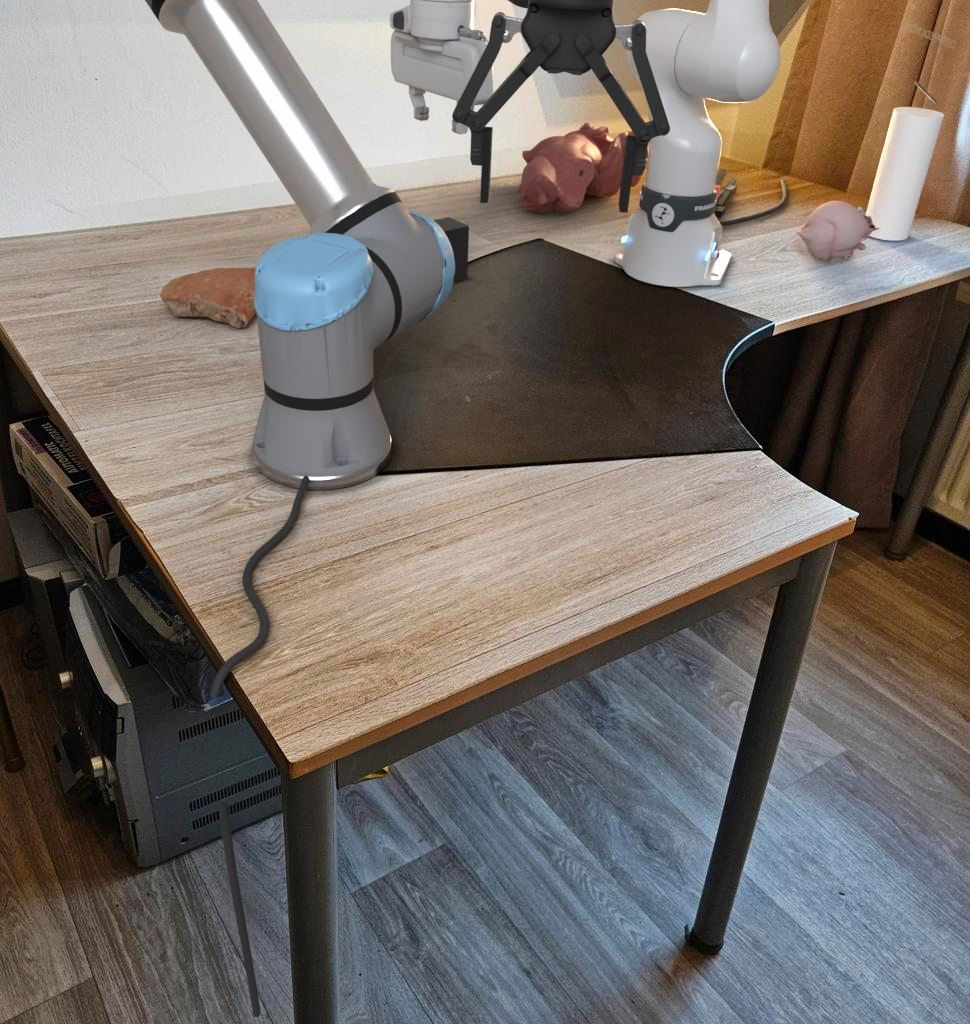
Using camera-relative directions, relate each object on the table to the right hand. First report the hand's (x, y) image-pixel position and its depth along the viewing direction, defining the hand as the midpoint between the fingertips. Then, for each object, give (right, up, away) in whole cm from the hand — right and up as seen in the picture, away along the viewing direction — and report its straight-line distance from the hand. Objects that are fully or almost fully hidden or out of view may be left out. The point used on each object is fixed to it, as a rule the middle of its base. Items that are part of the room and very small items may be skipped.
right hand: (440, 126), depth 142 cm
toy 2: (+68, -11, +31) cm, 76 cm away
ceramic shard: (-32, -27, 0) cm, 42 cm away
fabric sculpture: (+24, +5, +50) cm, 56 cm away
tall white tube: (+83, -3, +43) cm, 93 cm away
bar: (-7, -22, +9) cm, 25 cm away
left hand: (+13, -27, -47) cm, 56 cm away
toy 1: (+53, +6, +54) cm, 76 cm away
